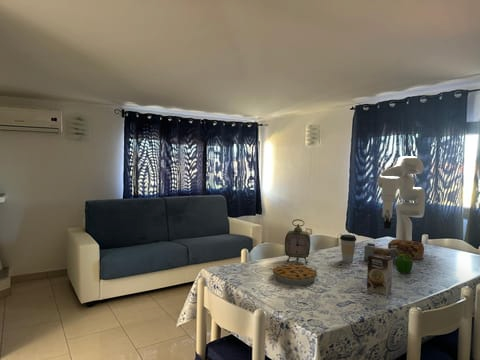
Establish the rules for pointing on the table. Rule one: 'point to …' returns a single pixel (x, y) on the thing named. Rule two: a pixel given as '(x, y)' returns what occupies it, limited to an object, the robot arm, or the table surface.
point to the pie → (294, 274)
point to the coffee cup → (347, 247)
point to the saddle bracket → (393, 254)
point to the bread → (408, 248)
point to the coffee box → (379, 274)
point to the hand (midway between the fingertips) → (387, 226)
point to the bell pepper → (404, 264)
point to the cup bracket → (368, 250)
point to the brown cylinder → (383, 251)
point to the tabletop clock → (297, 243)
